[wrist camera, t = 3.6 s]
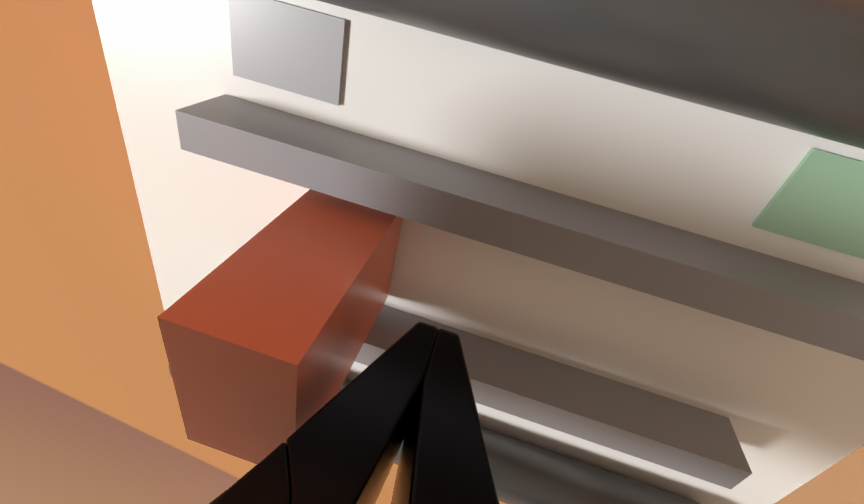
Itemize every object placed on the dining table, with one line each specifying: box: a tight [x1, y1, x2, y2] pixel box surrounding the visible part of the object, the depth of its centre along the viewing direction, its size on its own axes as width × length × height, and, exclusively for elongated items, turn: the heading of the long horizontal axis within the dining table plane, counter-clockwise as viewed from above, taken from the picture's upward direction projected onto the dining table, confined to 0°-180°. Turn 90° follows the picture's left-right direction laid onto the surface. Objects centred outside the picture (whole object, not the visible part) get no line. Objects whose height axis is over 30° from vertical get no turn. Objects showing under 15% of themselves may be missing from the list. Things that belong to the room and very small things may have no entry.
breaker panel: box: [92, 0, 864, 504], centre depth 10 cm, size 20×16×4 cm
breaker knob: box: [157, 189, 403, 464], centre depth 8 cm, size 2×3×5 cm, turn 168°
